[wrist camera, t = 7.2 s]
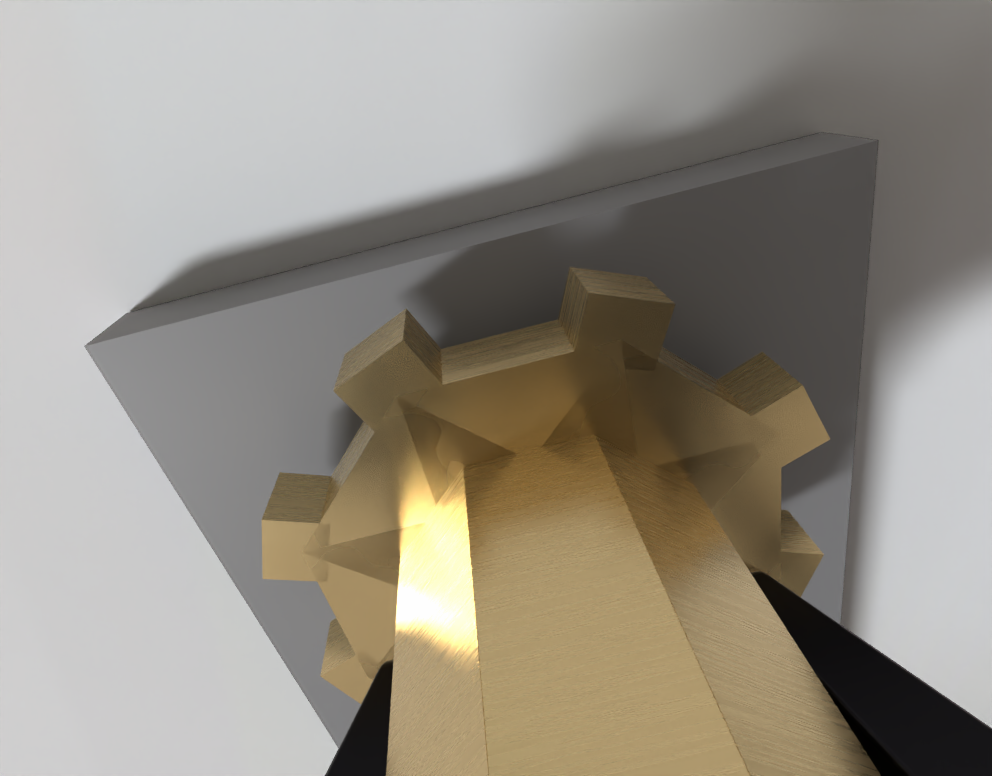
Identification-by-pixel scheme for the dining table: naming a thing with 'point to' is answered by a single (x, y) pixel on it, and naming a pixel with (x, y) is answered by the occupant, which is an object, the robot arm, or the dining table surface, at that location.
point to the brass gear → (567, 551)
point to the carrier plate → (499, 309)
